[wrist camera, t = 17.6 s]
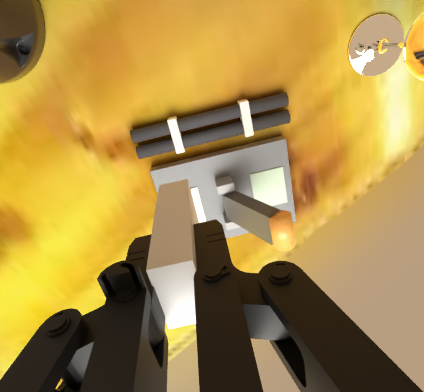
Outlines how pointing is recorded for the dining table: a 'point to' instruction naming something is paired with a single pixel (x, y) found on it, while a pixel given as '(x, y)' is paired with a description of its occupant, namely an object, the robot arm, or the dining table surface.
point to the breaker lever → (261, 219)
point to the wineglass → (386, 46)
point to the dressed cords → (211, 117)
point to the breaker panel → (234, 179)
